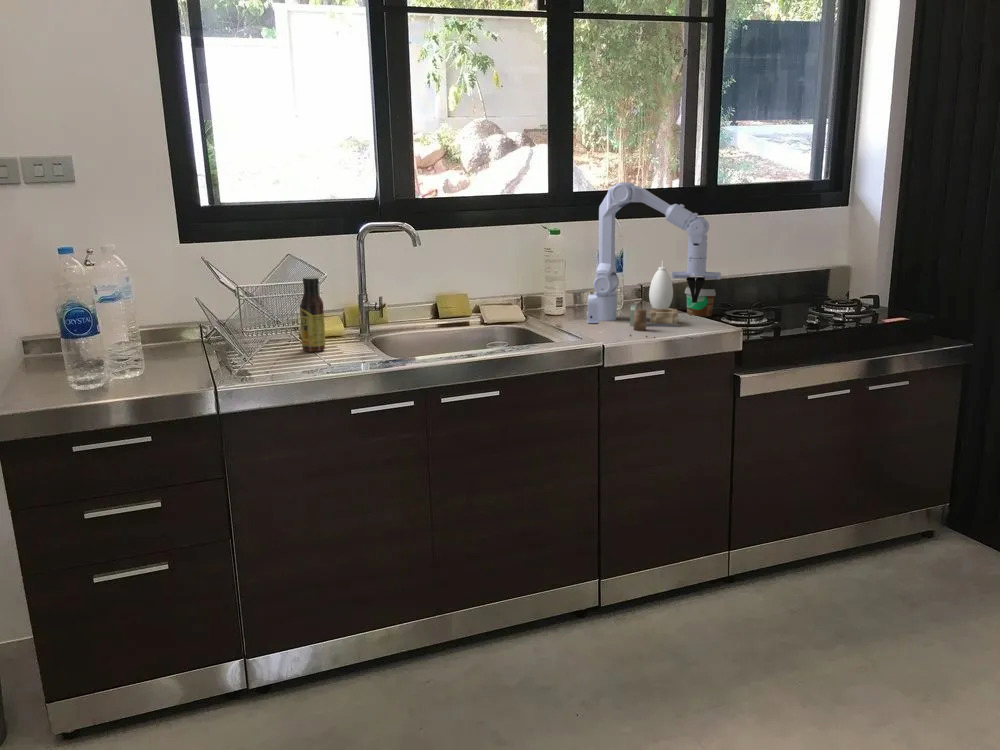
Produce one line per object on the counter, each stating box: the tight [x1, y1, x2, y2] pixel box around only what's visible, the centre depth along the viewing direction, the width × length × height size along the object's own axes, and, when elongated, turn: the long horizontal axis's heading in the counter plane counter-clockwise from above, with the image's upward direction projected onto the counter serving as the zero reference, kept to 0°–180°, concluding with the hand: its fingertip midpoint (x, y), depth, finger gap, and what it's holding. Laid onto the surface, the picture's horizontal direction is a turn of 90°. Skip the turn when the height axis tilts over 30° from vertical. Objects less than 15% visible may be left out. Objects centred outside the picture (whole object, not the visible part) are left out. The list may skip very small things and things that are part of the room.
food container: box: [684, 285, 717, 317], centre depth 274 cm, size 12×6×10 cm, turn 25°
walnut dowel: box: [633, 308, 648, 332], centre depth 247 cm, size 4×4×7 cm
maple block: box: [649, 307, 679, 324], centre depth 258 cm, size 8×8×4 cm
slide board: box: [629, 303, 680, 328], centre depth 258 cm, size 15×12×6 cm
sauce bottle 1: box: [299, 276, 326, 353], centre depth 222 cm, size 6×6×20 cm
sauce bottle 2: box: [648, 259, 674, 309], centre depth 284 cm, size 8×8×18 cm
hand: (694, 302), depth 255 cm, fingers closed
